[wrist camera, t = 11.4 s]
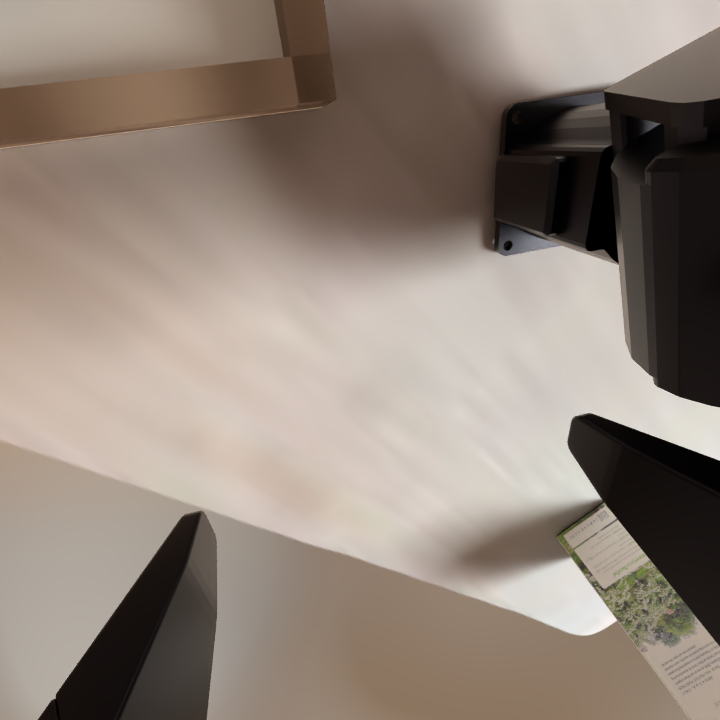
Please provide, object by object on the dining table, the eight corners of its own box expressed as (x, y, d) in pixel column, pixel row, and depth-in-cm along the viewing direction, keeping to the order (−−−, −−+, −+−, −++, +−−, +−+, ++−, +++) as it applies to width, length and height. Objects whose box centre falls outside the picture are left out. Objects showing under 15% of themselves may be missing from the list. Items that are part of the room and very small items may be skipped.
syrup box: (579, 557, 37) (738, 765, 25) (552, 535, 34) (716, 757, 22) (630, 521, 36) (824, 720, 24) (607, 495, 33) (813, 706, 21)
